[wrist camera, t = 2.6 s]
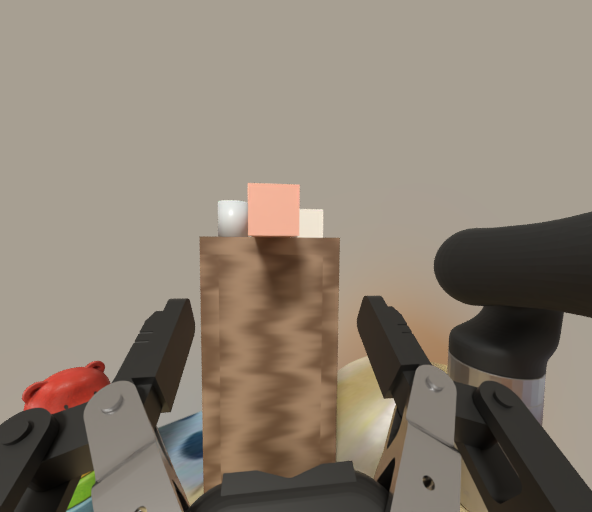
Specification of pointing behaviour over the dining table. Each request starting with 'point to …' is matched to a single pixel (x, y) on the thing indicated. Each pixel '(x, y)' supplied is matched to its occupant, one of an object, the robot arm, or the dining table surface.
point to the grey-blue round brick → (232, 218)
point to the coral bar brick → (273, 210)
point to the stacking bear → (63, 395)
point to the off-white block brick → (310, 223)
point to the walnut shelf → (268, 354)
